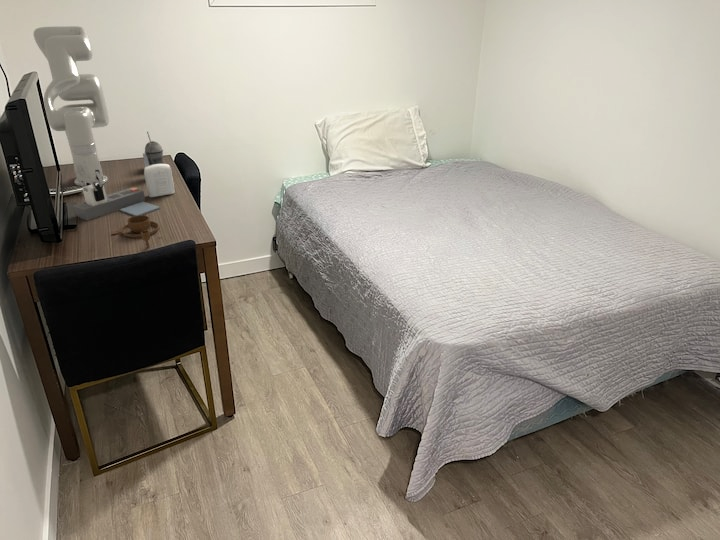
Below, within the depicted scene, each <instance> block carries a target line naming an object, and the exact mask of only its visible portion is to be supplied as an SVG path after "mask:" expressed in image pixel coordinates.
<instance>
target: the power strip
mask: <svg viewBox="0 0 720 540" xmlns="http://www.w3.org/2000/svg"><path fill="white" fill-rule="evenodd" d="M106 196H107V200H108V202H105V203H101V204H98V205H95V206H91V205H88V204H86V201H84V202H80V203H77V204H73V205H72V206H73V212H74V215H75V214H76V215H77V216H78V217H77V216H76V215H75V216H76V217H77V218H79V217H80V218H79V219H82V220H84V219H85V221H90V220H94V219H96V218H98V217H102V216H105V215H107V214H110V213H114V212H116V211H120V209H123V208H126V207H129V206H131V205H134V204H137V203H140V202H142V201H143V202H145V201H146V196H145V192H144V190H142V189H139V188H138V187H133V186H132V187H129V188H125V189H122V190H119V191H116V192H113V193H110V194H106Z"/></svg>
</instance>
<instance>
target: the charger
mask: <svg viewBox="0 0 720 540" xmlns="http://www.w3.org/2000/svg"><path fill="white" fill-rule="evenodd" d="M97 184H98V183H95V185H97ZM81 187H82V188H81V189H82V193H83V195H84V200H85V201H84V202H86V204H88V205H91V206H95V205H98V204H101V203H105V202H108V200H107V196H106V195H107V191H106V188H105V184H104V185H103V193H104V198H105V199H104V200H101V201H98V202H97V201H96V200H95V196H94V192H93V191H95V190H94V188H93V185H92V184H91V185H88V186H81Z"/></svg>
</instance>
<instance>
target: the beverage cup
mask: <svg viewBox="0 0 720 540" xmlns="http://www.w3.org/2000/svg"><path fill="white" fill-rule="evenodd" d="M146 134H147V136H148V140H149V141H148V142H147V143H146V145H145V148H144V152H145V153H146V156H147V158H148V162H149V166H150V165H154V164H164V160H163V159H164V157H163V154H164V149H163V148H162V147H163V146H162V145H161V144H160V143H158V142H157V141H153V140H151V137H150V133H149V131H146Z"/></svg>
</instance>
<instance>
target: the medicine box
mask: <svg viewBox="0 0 720 540" xmlns="http://www.w3.org/2000/svg"><path fill="white" fill-rule="evenodd" d="M142 156H143V162H144V168H146V167H148V166H149V162H148V158H147V156H146V153H145V151H144V152H143V153H142Z"/></svg>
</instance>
